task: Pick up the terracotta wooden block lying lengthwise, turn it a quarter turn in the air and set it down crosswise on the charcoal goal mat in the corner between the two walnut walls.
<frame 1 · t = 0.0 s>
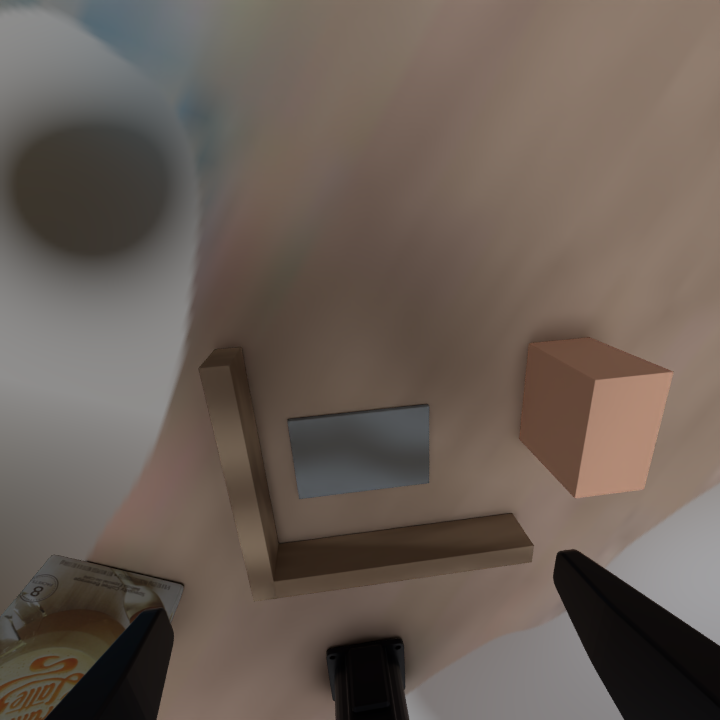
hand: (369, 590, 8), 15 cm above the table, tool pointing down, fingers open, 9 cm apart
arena: (391, 448, 24), on the table
coffee box: (112, 595, 27), on the table
block: (552, 389, 24), on the table
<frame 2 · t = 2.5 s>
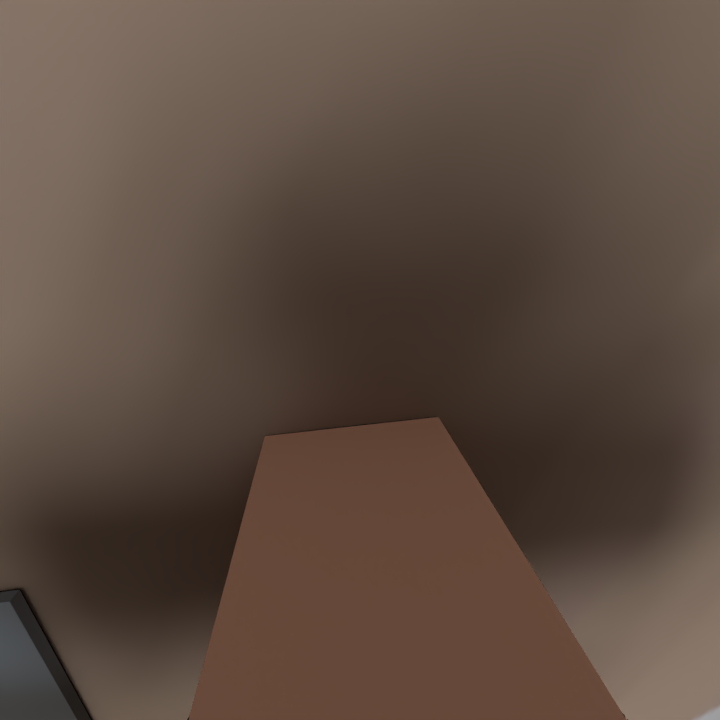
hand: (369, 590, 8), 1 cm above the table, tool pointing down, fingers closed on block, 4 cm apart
block: (362, 542, 10), on the table, touching gripper
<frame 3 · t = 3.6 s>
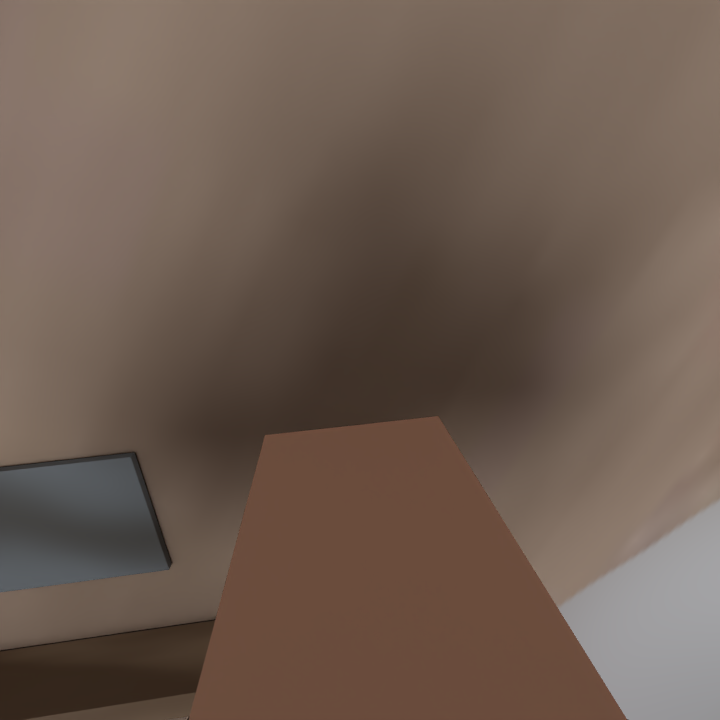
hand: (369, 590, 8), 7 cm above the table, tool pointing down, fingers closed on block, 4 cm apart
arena: (93, 519, 15), on the table
block: (362, 541, 10), point 6 cm above the table, touching gripper
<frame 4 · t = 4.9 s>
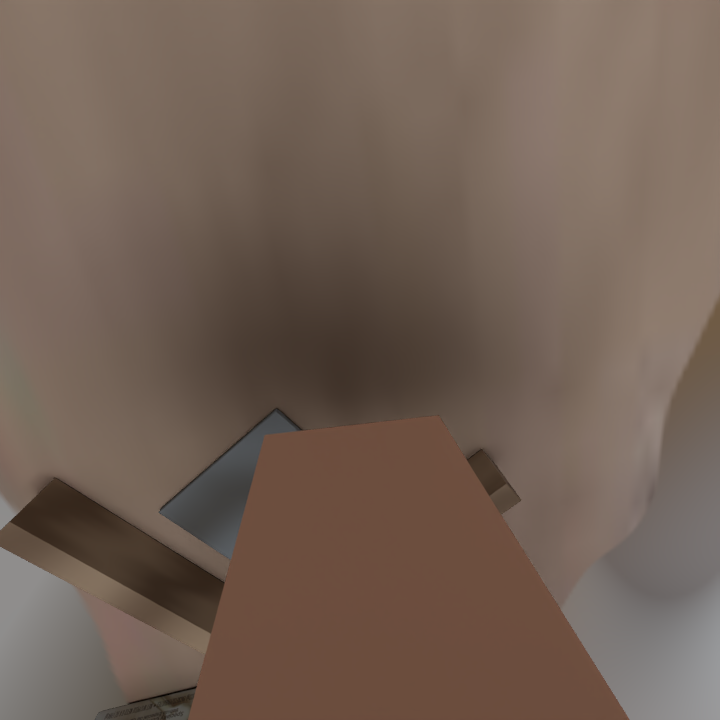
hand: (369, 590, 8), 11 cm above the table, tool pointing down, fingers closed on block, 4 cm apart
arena: (283, 470, 20), on the table
coffee box: (177, 715, 27), on the table
block: (363, 541, 10), point 10 cm above the table, touching gripper
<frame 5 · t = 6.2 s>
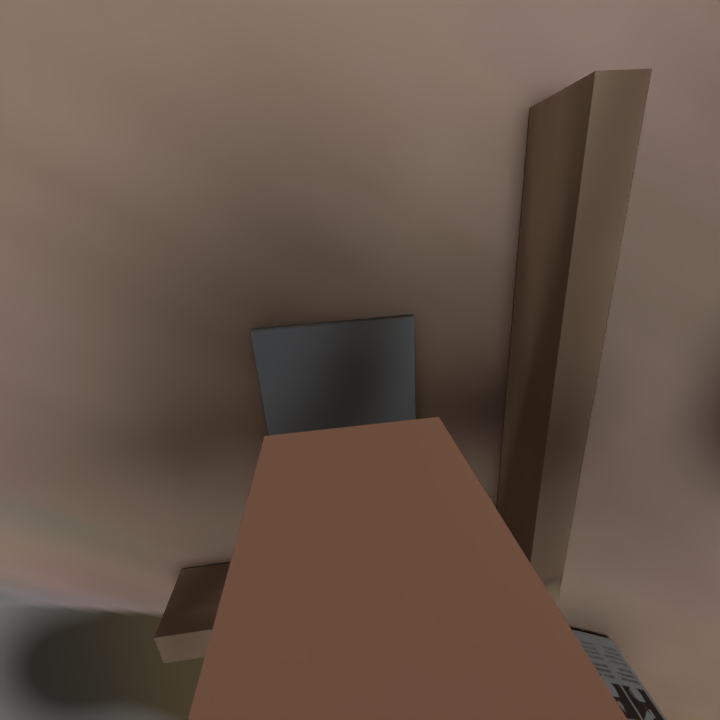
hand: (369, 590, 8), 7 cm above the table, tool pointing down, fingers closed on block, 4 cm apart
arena: (338, 383, 14), on the table
coffee box: (527, 672, 23), on the table
block: (362, 542, 10), point 6 cm above the table, touching gripper
when the fingers open (3 cm above the table, at t = 7.3 s): block stays where it is, resting on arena.
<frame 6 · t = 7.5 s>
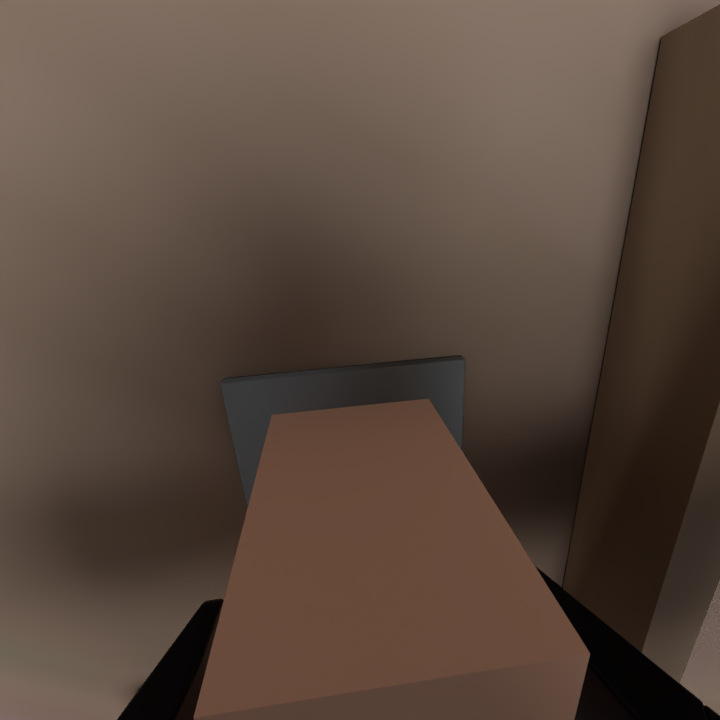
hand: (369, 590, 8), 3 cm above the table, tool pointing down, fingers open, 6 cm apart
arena: (352, 451, 10), on the table
block: (360, 515, 10), resting on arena
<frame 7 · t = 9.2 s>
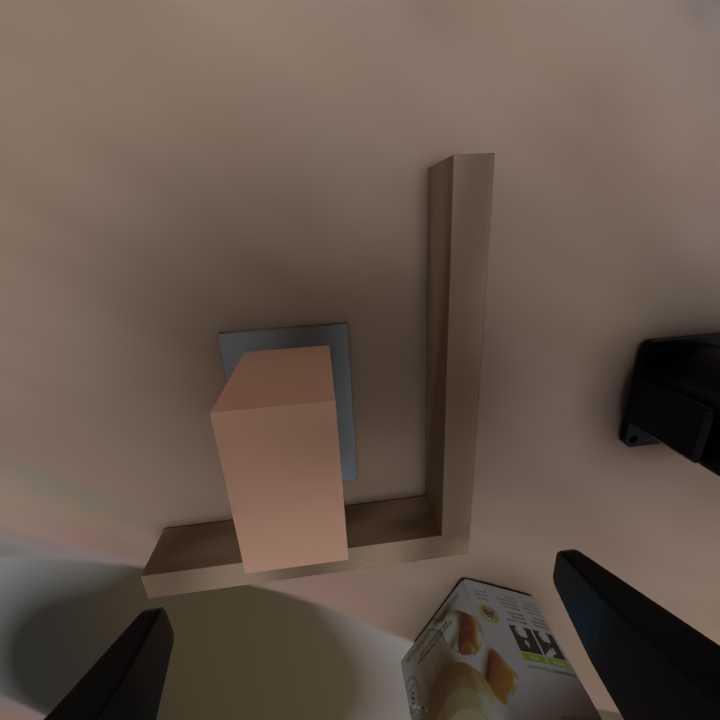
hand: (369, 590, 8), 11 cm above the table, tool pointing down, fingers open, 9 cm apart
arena: (290, 375, 18), on the table
coffee box: (463, 626, 27), on the table
block: (295, 413, 19), resting on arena
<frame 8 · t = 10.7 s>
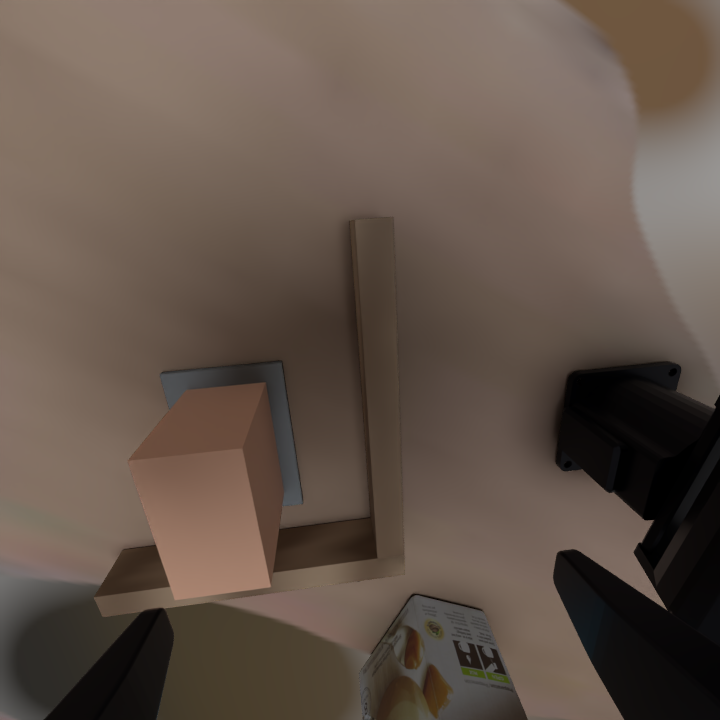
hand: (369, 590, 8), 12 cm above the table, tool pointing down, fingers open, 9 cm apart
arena: (231, 409, 19), on the table
coffee box: (418, 639, 28), on the table
block: (238, 444, 20), resting on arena
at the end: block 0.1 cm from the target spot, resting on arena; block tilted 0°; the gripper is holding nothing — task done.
